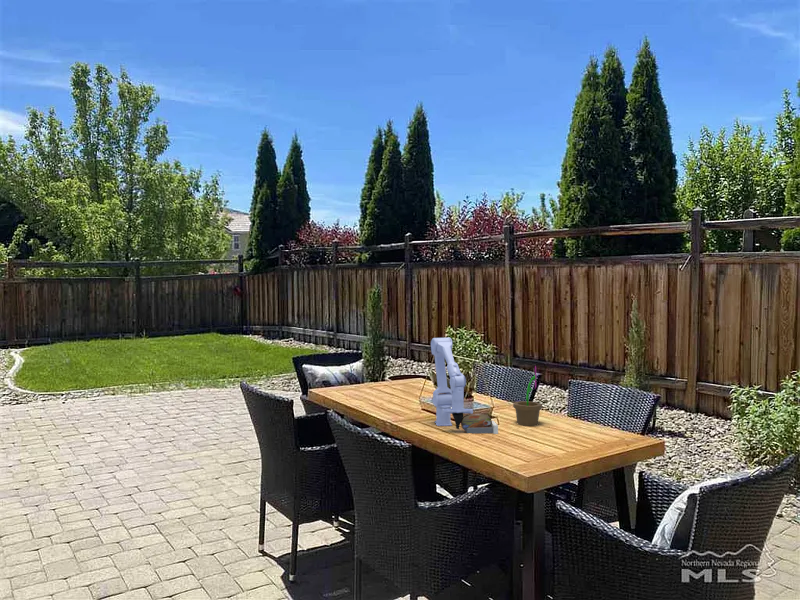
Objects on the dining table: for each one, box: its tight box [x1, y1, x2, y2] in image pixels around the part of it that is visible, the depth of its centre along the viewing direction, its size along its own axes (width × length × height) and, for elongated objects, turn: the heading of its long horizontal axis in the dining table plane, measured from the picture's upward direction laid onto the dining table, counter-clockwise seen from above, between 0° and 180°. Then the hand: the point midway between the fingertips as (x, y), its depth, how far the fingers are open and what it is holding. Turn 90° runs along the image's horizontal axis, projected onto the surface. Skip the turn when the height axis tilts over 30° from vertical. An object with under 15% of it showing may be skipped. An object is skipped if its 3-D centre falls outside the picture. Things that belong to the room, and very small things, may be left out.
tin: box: [460, 413, 493, 433], centre depth 284 cm, size 15×3×8 cm, turn 98°
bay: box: [466, 420, 499, 435], centre depth 284 cm, size 10×14×4 cm
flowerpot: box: [512, 365, 543, 427], centre depth 300 cm, size 14×14×30 cm
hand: (457, 428), depth 284 cm, fingers closed
